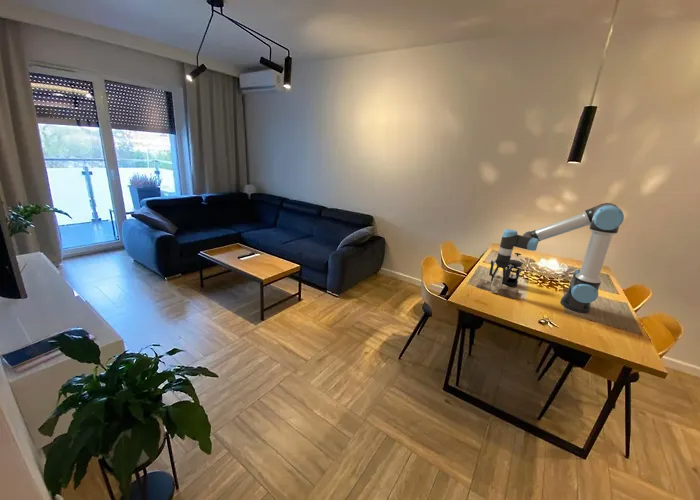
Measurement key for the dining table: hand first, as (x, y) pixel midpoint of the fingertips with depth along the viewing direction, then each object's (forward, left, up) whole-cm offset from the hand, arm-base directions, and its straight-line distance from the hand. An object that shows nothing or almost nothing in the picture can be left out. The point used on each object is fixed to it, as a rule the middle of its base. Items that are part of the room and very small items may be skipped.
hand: (496, 287), depth 198 cm
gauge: (0, 0, -3) cm, 3 cm away
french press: (-5, -20, -4) cm, 21 cm away
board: (-1, -4, -3) cm, 5 cm away
